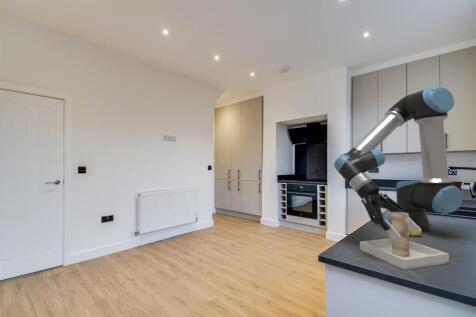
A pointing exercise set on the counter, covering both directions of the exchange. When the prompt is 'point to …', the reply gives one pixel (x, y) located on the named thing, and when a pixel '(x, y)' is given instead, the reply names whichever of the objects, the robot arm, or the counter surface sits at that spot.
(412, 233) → the lemon
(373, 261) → the counter surface
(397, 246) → the dowel
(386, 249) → the tray
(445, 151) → the robot arm
